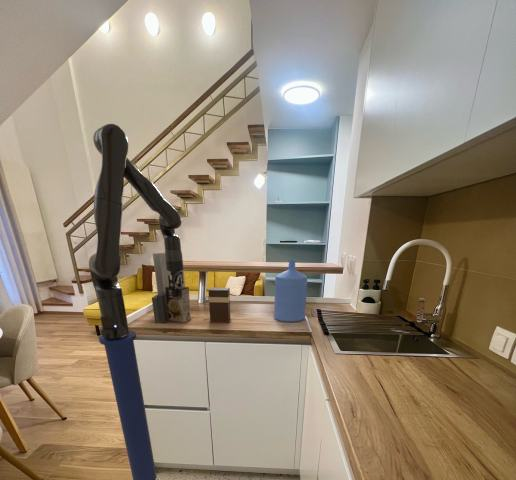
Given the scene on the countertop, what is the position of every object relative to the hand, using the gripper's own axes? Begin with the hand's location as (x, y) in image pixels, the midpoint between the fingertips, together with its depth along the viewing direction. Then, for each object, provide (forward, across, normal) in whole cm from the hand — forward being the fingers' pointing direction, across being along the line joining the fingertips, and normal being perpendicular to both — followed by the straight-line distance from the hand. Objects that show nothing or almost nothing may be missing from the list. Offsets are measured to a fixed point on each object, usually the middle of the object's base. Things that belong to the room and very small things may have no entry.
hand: (177, 295), depth 132 cm
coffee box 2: (+12, 0, +20) cm, 23 cm away
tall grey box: (+12, -18, -9) cm, 24 cm away
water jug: (+12, -7, +54) cm, 56 cm away
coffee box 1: (+12, 0, 0) cm, 12 cm away
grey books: (+12, 0, -8) cm, 14 cm away
